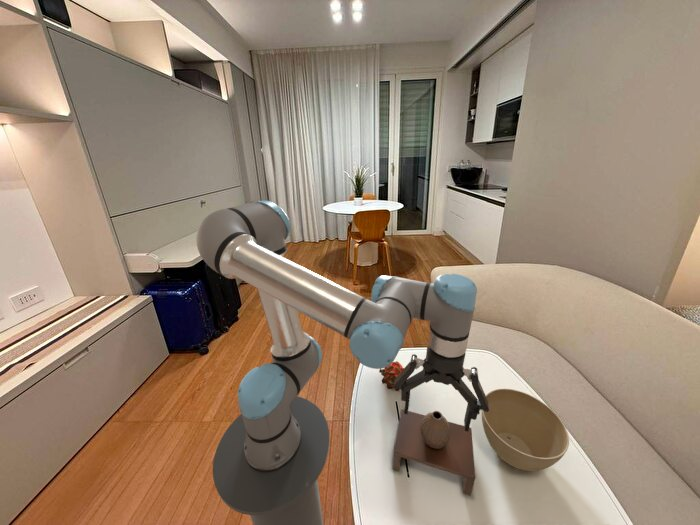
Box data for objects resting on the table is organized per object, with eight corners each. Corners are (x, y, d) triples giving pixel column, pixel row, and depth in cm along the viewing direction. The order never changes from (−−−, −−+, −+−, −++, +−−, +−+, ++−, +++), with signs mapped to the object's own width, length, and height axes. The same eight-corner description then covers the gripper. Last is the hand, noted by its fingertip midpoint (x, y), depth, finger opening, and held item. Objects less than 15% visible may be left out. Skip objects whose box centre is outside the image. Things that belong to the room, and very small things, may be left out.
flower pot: (460, 432, 74) (466, 401, 70) (508, 410, 80) (516, 380, 75) (518, 506, 59) (531, 472, 54) (572, 472, 65) (588, 439, 60)
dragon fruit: (394, 402, 86) (388, 378, 97) (416, 388, 85) (407, 365, 96) (378, 385, 84) (374, 362, 96) (400, 370, 83) (393, 349, 94)
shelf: (392, 469, 66) (393, 451, 64) (400, 425, 77) (401, 408, 74) (470, 496, 61) (475, 477, 58) (467, 445, 71) (471, 427, 68)
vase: (414, 439, 66) (416, 414, 63) (429, 421, 70) (432, 397, 67) (439, 460, 61) (442, 435, 58) (454, 440, 66) (458, 415, 62)
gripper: (510, 347, 54) (491, 418, 63) (390, 325, 62) (387, 391, 70) (519, 374, 48) (496, 449, 56) (383, 345, 56) (380, 415, 64)
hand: (435, 417), depth 63 cm, fingers open, 13 cm apart
